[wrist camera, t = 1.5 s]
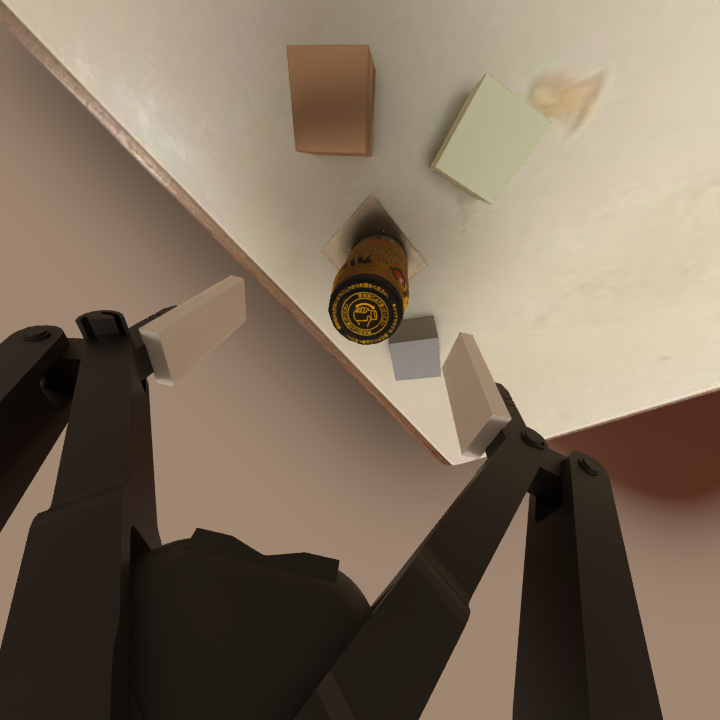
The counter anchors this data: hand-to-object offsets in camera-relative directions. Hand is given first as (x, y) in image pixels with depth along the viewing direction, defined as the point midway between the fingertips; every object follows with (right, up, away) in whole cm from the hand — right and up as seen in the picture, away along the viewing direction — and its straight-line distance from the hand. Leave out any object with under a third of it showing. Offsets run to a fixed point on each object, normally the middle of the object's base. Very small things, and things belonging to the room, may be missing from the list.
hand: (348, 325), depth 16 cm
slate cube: (+7, +1, +16) cm, 18 cm away
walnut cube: (-1, +18, +5) cm, 18 cm away
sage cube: (+10, +15, +5) cm, 19 cm away
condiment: (+2, +9, +11) cm, 14 cm away
